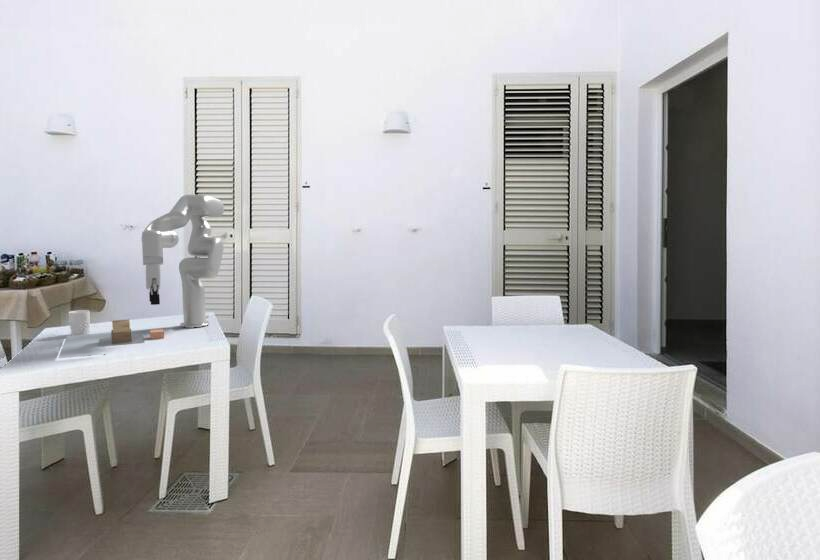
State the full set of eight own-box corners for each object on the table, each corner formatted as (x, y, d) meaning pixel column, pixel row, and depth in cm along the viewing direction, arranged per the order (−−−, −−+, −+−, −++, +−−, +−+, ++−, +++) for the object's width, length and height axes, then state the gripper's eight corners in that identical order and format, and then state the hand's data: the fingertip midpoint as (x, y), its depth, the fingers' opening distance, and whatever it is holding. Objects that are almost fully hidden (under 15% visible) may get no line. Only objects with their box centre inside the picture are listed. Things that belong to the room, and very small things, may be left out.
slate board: (99, 341, 230) (99, 338, 229) (143, 337, 237) (143, 334, 237) (98, 349, 215) (98, 346, 215) (144, 345, 223) (144, 342, 223)
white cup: (66, 336, 238) (65, 313, 236) (74, 332, 245) (72, 310, 244) (87, 336, 239) (85, 312, 238) (93, 332, 247) (92, 309, 246)
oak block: (112, 330, 227) (112, 320, 226) (129, 328, 230) (128, 319, 229) (112, 333, 222) (112, 322, 221) (130, 331, 224) (129, 321, 224)
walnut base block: (111, 339, 228) (111, 330, 227) (131, 338, 231) (130, 328, 230) (111, 343, 221) (111, 333, 221) (131, 341, 225) (131, 331, 224)
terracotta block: (150, 339, 233) (149, 330, 233) (163, 338, 235) (163, 329, 235) (150, 342, 229) (150, 332, 228) (164, 341, 231) (163, 331, 230)
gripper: (141, 260, 234) (143, 301, 236) (143, 262, 219) (145, 306, 220) (161, 259, 237) (163, 300, 239) (164, 262, 222) (166, 305, 224)
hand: (154, 303), depth 230 cm, fingers open, 9 cm apart
